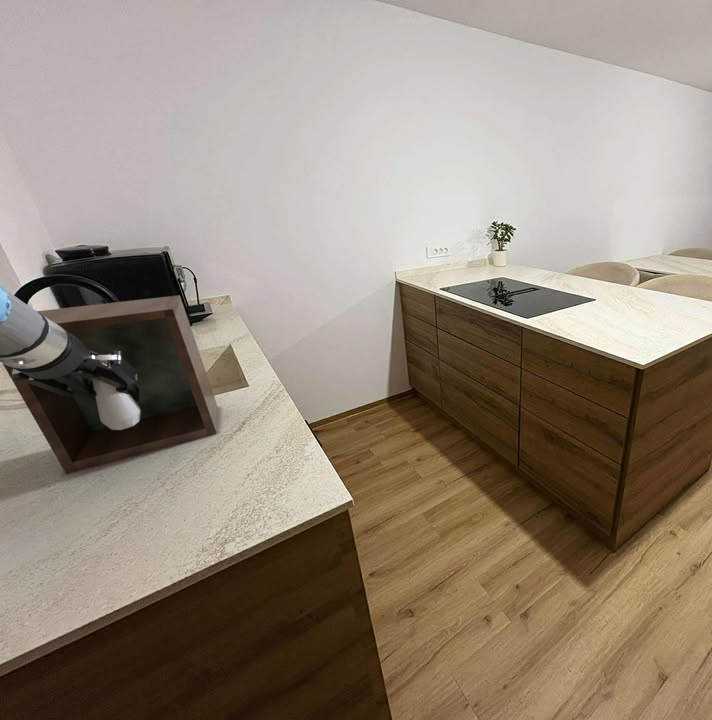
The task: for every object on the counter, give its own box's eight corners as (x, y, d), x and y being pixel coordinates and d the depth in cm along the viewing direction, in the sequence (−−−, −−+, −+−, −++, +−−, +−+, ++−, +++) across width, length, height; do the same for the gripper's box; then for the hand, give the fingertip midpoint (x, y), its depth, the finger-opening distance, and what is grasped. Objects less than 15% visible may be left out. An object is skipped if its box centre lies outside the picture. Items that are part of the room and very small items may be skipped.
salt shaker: (98, 429, 71) (66, 367, 66) (131, 414, 76) (105, 355, 71) (118, 435, 69) (88, 371, 64) (151, 419, 74) (126, 359, 69)
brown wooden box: (65, 474, 71) (-16, 332, 60) (86, 439, 81) (19, 313, 70) (216, 434, 83) (172, 308, 71) (218, 408, 93) (179, 295, 81)
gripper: (-48, 381, 50) (71, 424, 70) (107, 360, 56) (175, 405, 76) (-41, 331, 52) (72, 387, 72) (107, 316, 58) (173, 371, 78)
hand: (125, 396), depth 74 cm, fingers closed on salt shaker, 3 cm apart
